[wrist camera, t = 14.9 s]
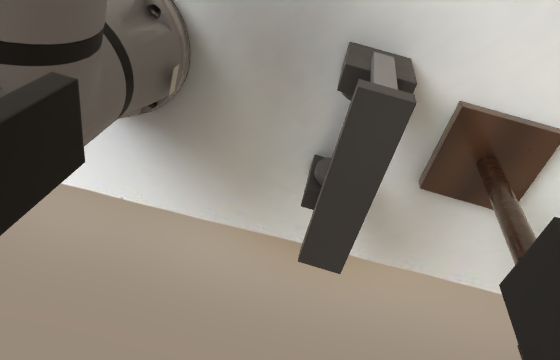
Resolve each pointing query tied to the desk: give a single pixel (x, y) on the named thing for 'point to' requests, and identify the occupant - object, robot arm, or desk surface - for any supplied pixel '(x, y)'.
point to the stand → (492, 166)
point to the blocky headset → (357, 153)
